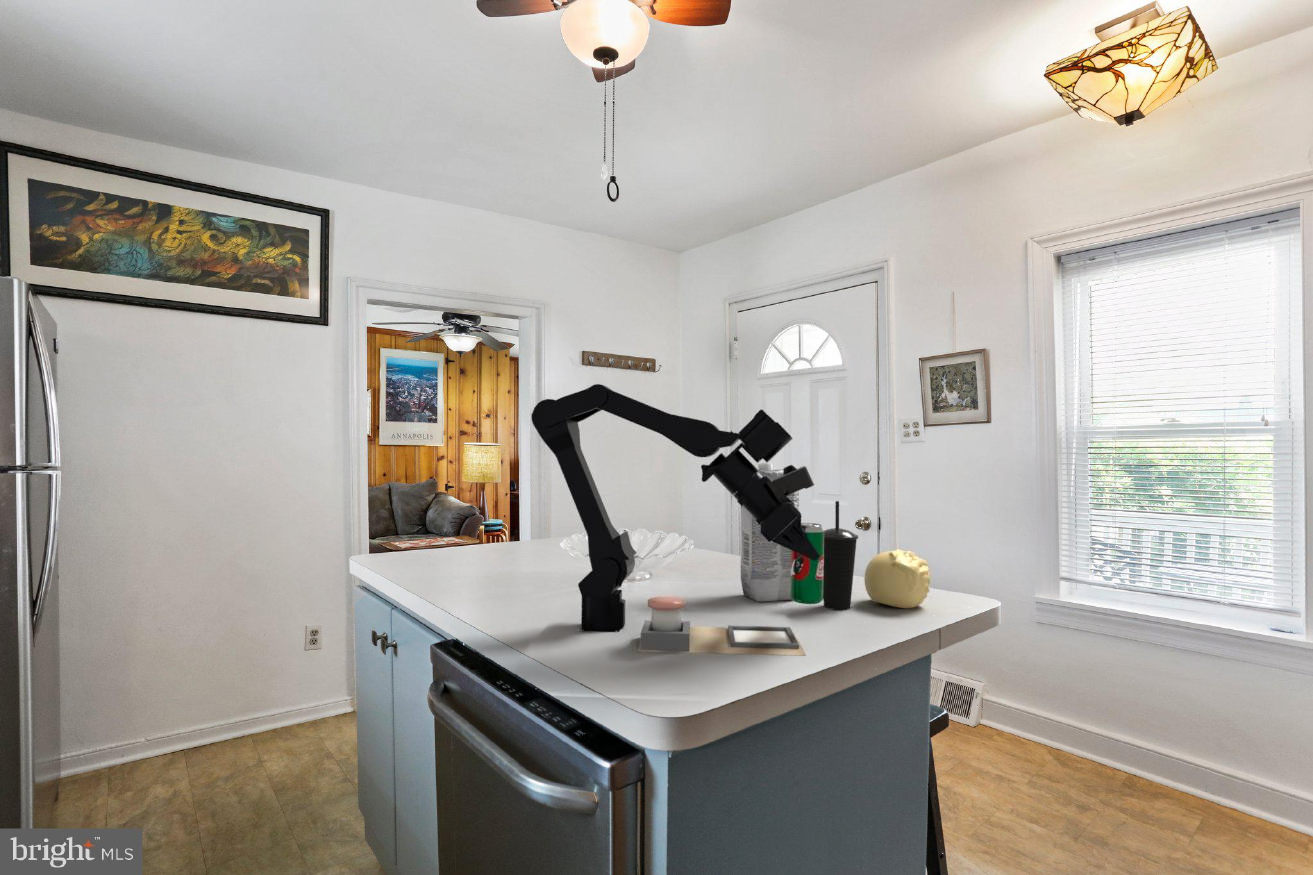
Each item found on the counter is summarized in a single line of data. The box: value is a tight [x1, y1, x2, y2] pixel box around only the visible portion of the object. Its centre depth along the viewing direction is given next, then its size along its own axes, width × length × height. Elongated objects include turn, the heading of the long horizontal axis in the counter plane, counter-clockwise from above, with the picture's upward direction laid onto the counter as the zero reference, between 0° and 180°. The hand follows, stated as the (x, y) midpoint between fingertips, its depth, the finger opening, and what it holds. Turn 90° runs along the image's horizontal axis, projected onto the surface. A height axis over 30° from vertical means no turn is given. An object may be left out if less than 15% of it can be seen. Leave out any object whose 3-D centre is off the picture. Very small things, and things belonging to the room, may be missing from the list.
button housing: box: [640, 620, 691, 651], centre depth 99 cm, size 7×7×2 cm
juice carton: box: [740, 462, 800, 603], centre depth 134 cm, size 9×10×27 cm
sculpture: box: [863, 548, 931, 609], centre depth 129 cm, size 11×12×11 cm
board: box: [636, 625, 807, 657], centre depth 102 cm, size 24×14×1 cm, turn 86°
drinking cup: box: [822, 500, 859, 611], centre depth 127 cm, size 8×8×20 cm
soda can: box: [790, 522, 824, 605], centre depth 104 cm, size 5×5×12 cm
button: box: [647, 596, 686, 632], centre depth 100 cm, size 6×6×4 cm
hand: (816, 555), depth 104 cm, fingers closed on soda can, 5 cm apart
